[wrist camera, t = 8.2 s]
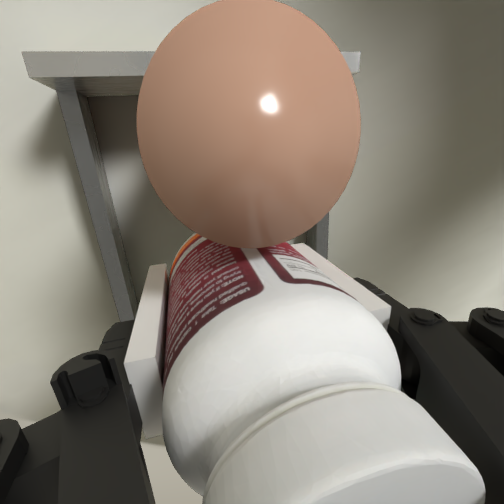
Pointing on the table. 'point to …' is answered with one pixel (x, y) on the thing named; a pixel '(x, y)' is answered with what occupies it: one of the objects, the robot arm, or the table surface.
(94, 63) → the grey rail frame
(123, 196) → the table surface
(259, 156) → the tan rounded cylinder
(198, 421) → the pill bottle
